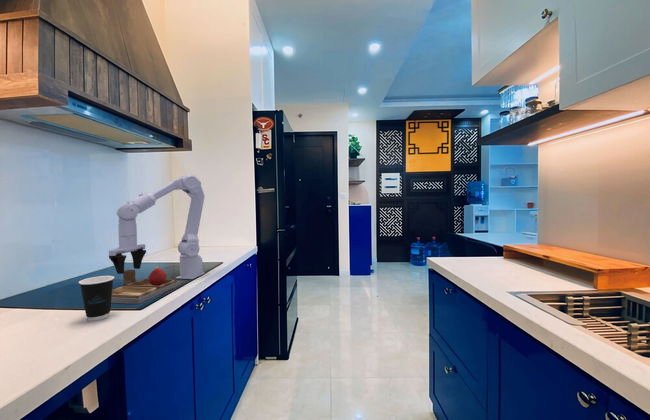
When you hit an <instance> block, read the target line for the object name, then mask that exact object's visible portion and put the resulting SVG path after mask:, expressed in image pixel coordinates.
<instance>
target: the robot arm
mask: <svg viewBox="0 0 650 420" xmlns="http://www.w3.org/2000/svg"><path fill="white" fill-rule="evenodd" d="M178 190H179V191H180V190H181V191H182V192H184V193H186V195H188V197H189V198H190V204H189V209H188V214H187V219H186V226H185V231H184V234H182V235H183V236H182V237H181V241H180V242H179V243H178V246H177V250H178V252H179V254H180V255H179V276H176V277H175V280H176V279H177V280H178V279H180V280H193V279H196V278H198V277H200V276H202V275H204V274H205V272H204V270H203V266H204V265H203V263H204V262H203V257H202V256H201V255H200V254H199V252H200V245H199V242H200V240H199V236H198V235H199V228H200V223H201V217H202V212H203V207H204V203H205V193H204V190H203V188H202V182H201V180H200V179H199V178H198V177H196V175H193V174H188V175H185V176H180V177H179V178H176V179H174V180H171V181H169V182H167V183H166V184H164V185H162V186H161V187H159V188H158V189H156V190H155V191H152V192H151V193H150V192H149V193H148V192H144V193H142V192H141V193H139V194H138V196H137V197H135V198H134V199H132V200H127V201H126V203H127V204H122V205H120V206H119V207H118V208H117V210H116V216H117V217H118V221H117V222H118V224H117V225H118V226H117V227H118V228H117V229H118V247H116V248H114V249H110V250H108V258H109V260H110V261H111V262H112V263H113V266H114V268H115V270H116V273H117V274H119V275H123V273H124V271H125V263H126V258H127V255H125V254H126V253H130V255H131V257H132V265H133V270H139V269H141V265H142V261H143V259H144V256H145V254H146V253H147V250H146V244H141V243H140V244H138V235H137V234H138V232H137V230H138V229H137V228H138V227H137V216H138V214H142V213H143V212H145V211H147V210H148V209H150V208H152V207H154V206H155V205H156V202H157V200H159V199H161V198H163V197H164V196H166V195H168V194H170V193H172V192H173V191H178Z"/></svg>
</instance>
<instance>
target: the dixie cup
mask: <svg viewBox="0 0 650 420" xmlns="http://www.w3.org/2000/svg"><path fill="white" fill-rule="evenodd" d="M114 279H115V276H113V275H100V276H93V277H88V278H84V279H82V280H79V281H78V284H79V286H80V290H81V294H82V296H81V297H82V301H83V306H84V311H85V317H87V321H90V322H93V321H100V320H103V319H106V318H108V317H109V316H110V312H111V309H112V307H111V306H112V303H111V298H112V287H113V285H114Z"/></svg>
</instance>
